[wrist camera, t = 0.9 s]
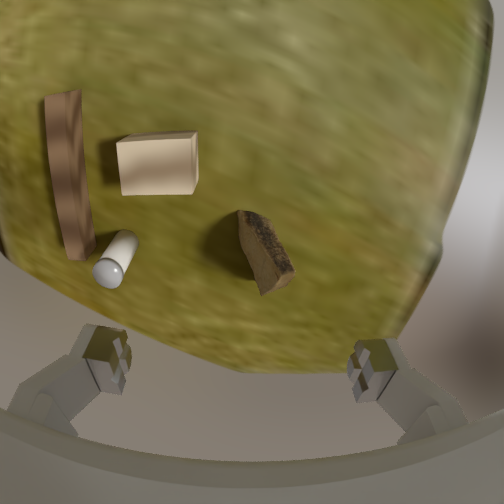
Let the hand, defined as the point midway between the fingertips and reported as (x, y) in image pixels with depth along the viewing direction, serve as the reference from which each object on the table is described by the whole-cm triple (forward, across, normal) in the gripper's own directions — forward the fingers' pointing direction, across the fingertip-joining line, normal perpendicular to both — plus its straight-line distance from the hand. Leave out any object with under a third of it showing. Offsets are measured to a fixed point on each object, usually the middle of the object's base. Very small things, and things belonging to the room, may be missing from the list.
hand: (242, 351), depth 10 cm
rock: (+29, -3, +11) cm, 31 cm away
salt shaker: (+29, +15, +11) cm, 34 cm away
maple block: (+28, +9, -1) cm, 30 cm away
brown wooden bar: (+28, +22, +1) cm, 35 cm away
